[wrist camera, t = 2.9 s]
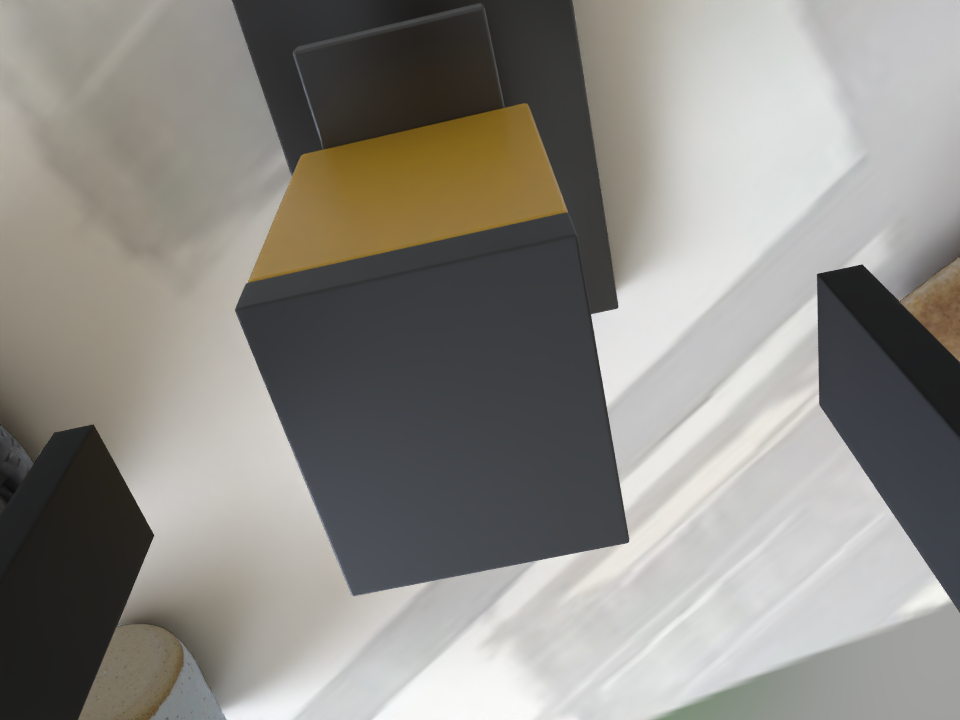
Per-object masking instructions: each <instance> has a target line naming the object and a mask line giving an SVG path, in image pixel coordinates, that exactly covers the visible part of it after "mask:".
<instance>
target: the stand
mask: <svg viewBox="0 0 960 720" xmlns="http://www.w3.org/2000/svg"><path fill="white" fill-rule="evenodd" d="M232 2H233V5H234V8H235V11H236V14H237V17H238V20H239V23H240V26H241V28H242V31H243V34H244V37H245V40H246V43H247V46H248V49H249V52H250V55H251V58H252V61H253V64H254V67H255V70H256V72H257V75H258V78H259V81H260V84H261V87H262V90H263V93H264V96H265V99H266V102H267V105H268V108H269V111H270V114H271V116H272V119H273V122H274V125H275V128H276V131H277V134H278V137H279V140H280V143H281V146H282V149H283V152H284V155H285V158H286V160H287V163H288V166H289V169H290V172H291V175H292V176H293V173H294V171H295V168H296V166H297V164H298V161H299V159H300V157H301V156H302V155H303V154H307V153H311V152H316V151H320V150H324V149H329V148H333V147H337V146H342V145H346V144H350V143H355V142H359V141H363V140H368V139H372V138H376V137H381V136H385V135H389V134H394V133H398V132H402V131H407V130H411V129H415V128H420V127H424V126H428V125H433V124H437V123H441V122H446V121H450V120H454V119H459V118H463V117H467V116H472V115H476V114H480V113H485V112H489V111H493V110H498V109H502V108H506V107H511V106H515V105H519V104H524V103H525V104H528V106H529V108H530V111H531V113H532V116H533V119H534V121H535V124H536V127H537V130H538V132H539V135H540V138H541V140H542V143H543V146H544V148H545V151H546V154H547V157H548V159H549V162H550V165H551V167H552V170H553V173H554V176H555V178H556V181H557V184H558V186H559V189H560V192H561V194H562V197H563V200H564V203H565V205H566V208H567V211H568V213H569V215H570V217H571V220H572V223H573V226H574V228H575V231H576V234H577V237H578V243H579V248H580V254H581V260H582V266H583V272H584V278H585V284H586V289H587V295H588V301H589V307H590V313H591V314H594V313H599V312H603V311H608V310H613V309H617V308H618V300H617V293H616V287H615V280H614V274H613V267H612V260H611V254H610V247H609V241H608V234H607V227H606V221H605V214H604V207H603V201H602V194H601V188H600V181H599V174H598V168H597V161H596V155H595V148H594V141H593V135H592V128H591V122H590V115H589V108H588V102H587V95H586V88H585V82H584V75H583V69H582V62H581V55H580V49H579V42H578V36H577V29H576V22H575V16H574V9H573V2H572V0H232Z"/></svg>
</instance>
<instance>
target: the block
mask: <svg viewBox="0 0 960 720" xmlns="http://www.w3.org/2000/svg"><path fill="white" fill-rule="evenodd" d="M235 312H236V314H237V317H238V319H239V321H240V324H241V326H242V329H243V331H244V334H245V336H246V339H247V341H248V343H249V346H250V348H251V351H252V353H253V356H254V358H255V360H256V363H257V365H258V368H259V370H260V373H261V375H262V378H263V380H264V382H265V385H266V387H267V390H268V392H269V395H270V397H271V399H272V402H273V404H274V407H275V409H276V412H277V414H278V417H279V419H280V421H281V424H282V426H283V429H284V431H285V434H286V436H287V439H288V441H289V443H290V446H291V448H292V451H293V453H294V456H295V458H296V460H297V463H298V465H299V468H300V470H301V473H302V475H303V478H304V480H305V482H306V485H307V487H308V490H309V492H310V495H311V497H312V500H313V502H314V504H315V507H316V509H317V512H318V514H319V517H320V519H321V521H322V524H323V526H324V529H325V531H326V534H327V536H328V539H329V541H330V543H331V546H332V548H333V551H334V553H335V556H336V558H337V560H338V563H339V565H340V568H341V570H342V573H343V575H344V578H345V580H346V582H347V585H348V587H349V590H350V592H351V595H352V596H357V595H362V594H367V593H372V592H378V591H383V590H388V589H393V588H398V587H403V586H409V585H414V584H419V583H424V582H429V581H434V580H439V579H445V578H450V577H455V576H460V575H465V574H470V573H476V572H481V571H486V570H491V569H496V568H501V567H506V566H512V565H517V564H522V563H527V562H532V561H537V560H543V559H548V558H553V557H558V556H563V555H568V554H573V553H579V552H584V551H589V550H594V549H599V548H604V547H609V546H615V545H620V544H625V543H628V542H629V535H628V530H627V524H626V518H625V512H624V506H623V500H622V494H621V489H620V483H619V477H618V471H617V465H616V459H615V453H614V448H613V442H612V436H611V430H610V424H609V418H608V412H607V407H606V401H605V395H604V389H603V383H602V377H601V371H600V366H599V360H598V354H597V348H596V342H595V336H594V330H593V325H592V319H591V313H590V307H589V301H588V295H587V289H586V284H585V278H584V272H583V266H582V260H581V254H580V248H579V243H578V237H577V234H576V231H575V228H574V226H573V223H572V220H571V217H570V215H569V213H568V211H567V208H566V205H565V203H564V200H563V197H562V194H561V192H560V189H559V186H558V184H557V181H556V178H555V176H554V173H553V170H552V167H551V165H550V162H549V159H548V157H547V154H546V151H545V148H544V146H543V143H542V140H541V138H540V135H539V132H538V130H537V127H536V124H535V121H534V119H533V116H532V113H531V111H530V108H529V106H528V104H525V103H524V104H519V105H515V106H511V107H506V108H502V109H498V110H493V111H489V112H485V113H480V114H476V115H472V116H467V117H463V118H459V119H454V120H450V121H446V122H441V123H437V124H433V125H428V126H424V127H420V128H415V129H411V130H407V131H402V132H398V133H394V134H389V135H385V136H381V137H376V138H372V139H368V140H363V141H359V142H355V143H350V144H346V145H342V146H337V147H333V148H329V149H324V150H320V151H316V152H311V153H307V154H303V155H302V156H301V157H300V159H299V161H298V164H297V166H296V168H295V171H294V173H293V176H292V178H291V180H290V183H289V185H288V188H287V190H286V192H285V195H284V197H283V199H282V202H281V204H280V207H279V209H278V211H277V214H276V216H275V218H274V221H273V223H272V226H271V228H270V230H269V233H268V235H267V238H266V240H265V242H264V245H263V247H262V249H261V252H260V254H259V257H258V259H257V261H256V264H255V266H254V268H253V271H252V273H251V276H250V278H249V280H248V283H247V284H246V285H245V287H244V289H243V292H242V294H241V296H240V299H239V301H238V304H237V306H236V308H235Z"/></svg>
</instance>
